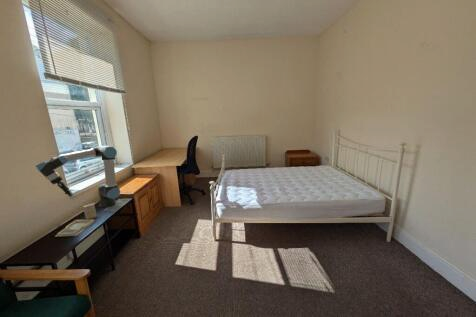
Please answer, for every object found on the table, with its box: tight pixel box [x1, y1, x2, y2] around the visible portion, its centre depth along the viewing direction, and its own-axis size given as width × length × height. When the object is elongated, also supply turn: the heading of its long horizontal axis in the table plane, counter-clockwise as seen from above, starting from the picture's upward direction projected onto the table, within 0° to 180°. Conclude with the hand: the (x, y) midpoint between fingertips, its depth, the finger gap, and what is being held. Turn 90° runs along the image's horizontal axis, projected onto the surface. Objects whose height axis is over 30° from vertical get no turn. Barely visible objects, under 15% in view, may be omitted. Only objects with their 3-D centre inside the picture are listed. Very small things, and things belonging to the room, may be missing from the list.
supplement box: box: [82, 202, 98, 220], centre depth 187 cm, size 8×5×13 cm, turn 135°
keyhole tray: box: [54, 218, 96, 238], centre depth 169 cm, size 22×17×2 cm
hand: (73, 197), depth 175 cm, fingers open, 13 cm apart
